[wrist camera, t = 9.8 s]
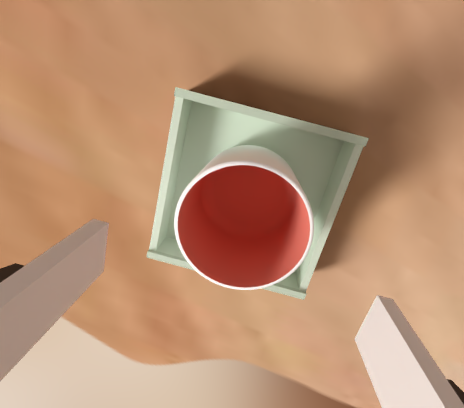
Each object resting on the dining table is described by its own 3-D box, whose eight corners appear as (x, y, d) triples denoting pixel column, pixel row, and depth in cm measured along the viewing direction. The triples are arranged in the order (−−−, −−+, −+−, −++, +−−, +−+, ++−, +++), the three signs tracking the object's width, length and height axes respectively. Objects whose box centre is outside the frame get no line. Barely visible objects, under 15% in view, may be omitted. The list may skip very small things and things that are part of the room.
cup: (315, 170, 29) (343, 201, 19) (268, 250, 32) (272, 310, 22) (224, 125, 28) (206, 134, 19) (186, 211, 31) (154, 256, 22)
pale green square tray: (188, 90, 28) (175, 87, 24) (352, 133, 28) (368, 138, 24) (160, 238, 33) (146, 257, 29) (298, 275, 33) (304, 299, 29)
